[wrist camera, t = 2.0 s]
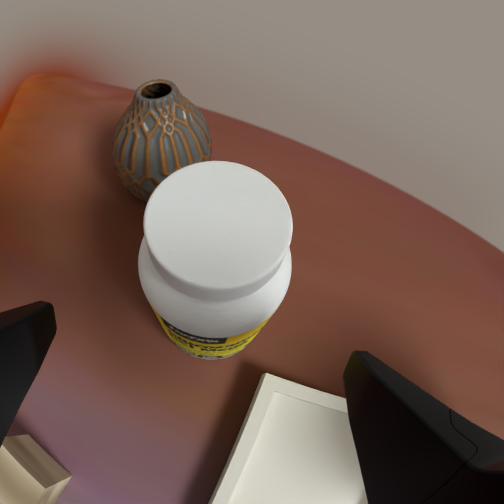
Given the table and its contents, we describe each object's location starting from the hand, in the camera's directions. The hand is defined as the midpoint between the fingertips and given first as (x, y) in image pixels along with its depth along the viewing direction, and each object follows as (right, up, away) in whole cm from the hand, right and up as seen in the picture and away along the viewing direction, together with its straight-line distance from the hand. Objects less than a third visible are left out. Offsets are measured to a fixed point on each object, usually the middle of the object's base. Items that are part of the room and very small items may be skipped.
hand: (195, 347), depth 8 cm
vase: (-5, +8, +15) cm, 18 cm away
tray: (+5, -11, +7) cm, 14 cm away
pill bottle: (-1, -1, +11) cm, 11 cm away
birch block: (-12, -12, +4) cm, 18 cm away
